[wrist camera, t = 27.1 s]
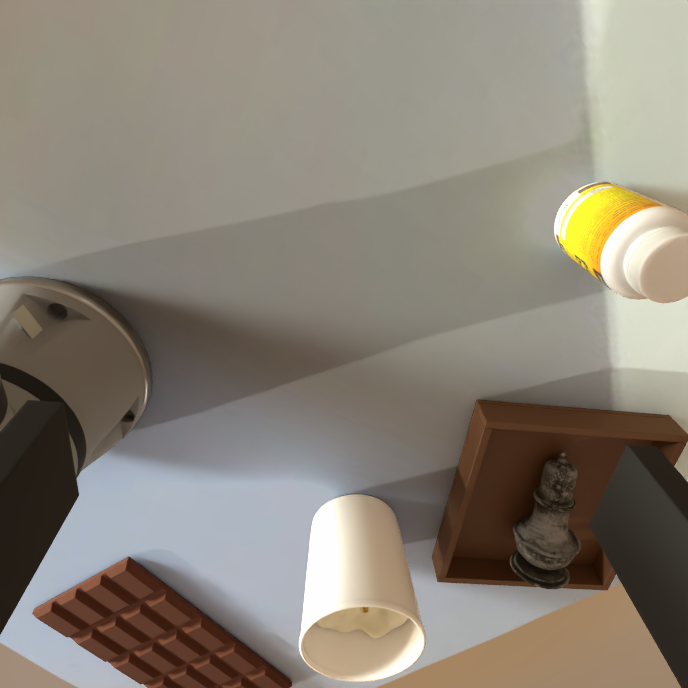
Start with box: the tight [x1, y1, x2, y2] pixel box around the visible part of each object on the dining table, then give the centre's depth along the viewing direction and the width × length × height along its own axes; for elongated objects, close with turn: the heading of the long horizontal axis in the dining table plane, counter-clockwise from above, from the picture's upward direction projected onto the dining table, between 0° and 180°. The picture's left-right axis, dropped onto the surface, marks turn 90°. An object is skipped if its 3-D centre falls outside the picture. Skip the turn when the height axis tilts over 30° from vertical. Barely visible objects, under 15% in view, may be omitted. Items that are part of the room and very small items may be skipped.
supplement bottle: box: [554, 182, 688, 303], centre depth 33 cm, size 6×6×10 cm
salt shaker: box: [510, 451, 581, 589], centre depth 47 cm, size 6×6×12 cm
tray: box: [432, 400, 688, 590], centre depth 48 cm, size 19×17×3 cm
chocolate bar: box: [32, 557, 292, 688], centre depth 58 cm, size 27×14×1 cm, turn 34°
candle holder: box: [299, 494, 426, 682], centre depth 45 cm, size 10×10×12 cm
